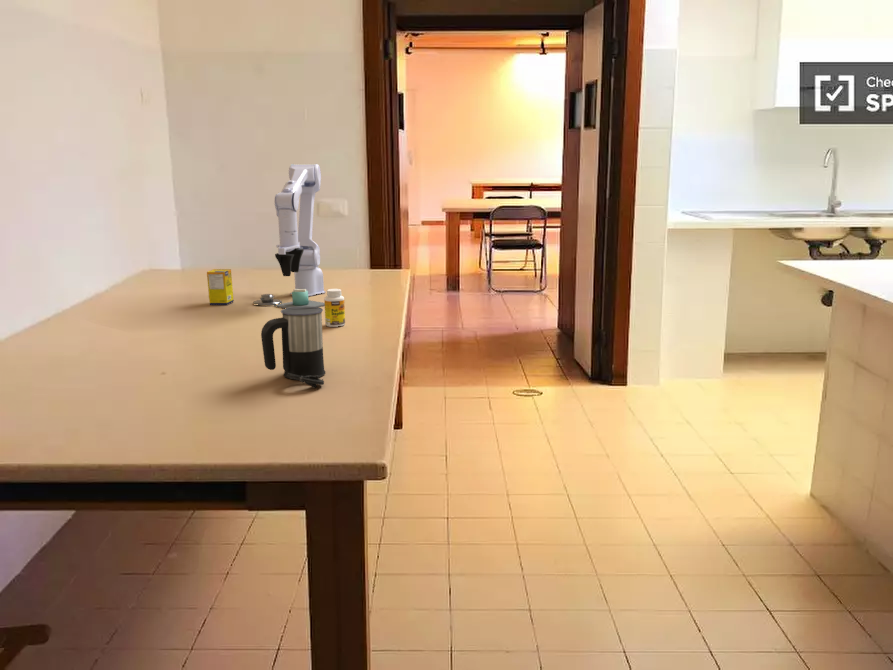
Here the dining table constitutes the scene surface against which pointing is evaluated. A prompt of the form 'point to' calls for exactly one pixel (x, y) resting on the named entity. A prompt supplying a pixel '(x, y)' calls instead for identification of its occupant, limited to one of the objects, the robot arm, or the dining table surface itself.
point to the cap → (300, 297)
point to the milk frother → (297, 344)
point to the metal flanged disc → (267, 300)
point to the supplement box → (220, 286)
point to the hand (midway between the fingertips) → (290, 274)
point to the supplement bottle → (334, 308)
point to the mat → (311, 304)
